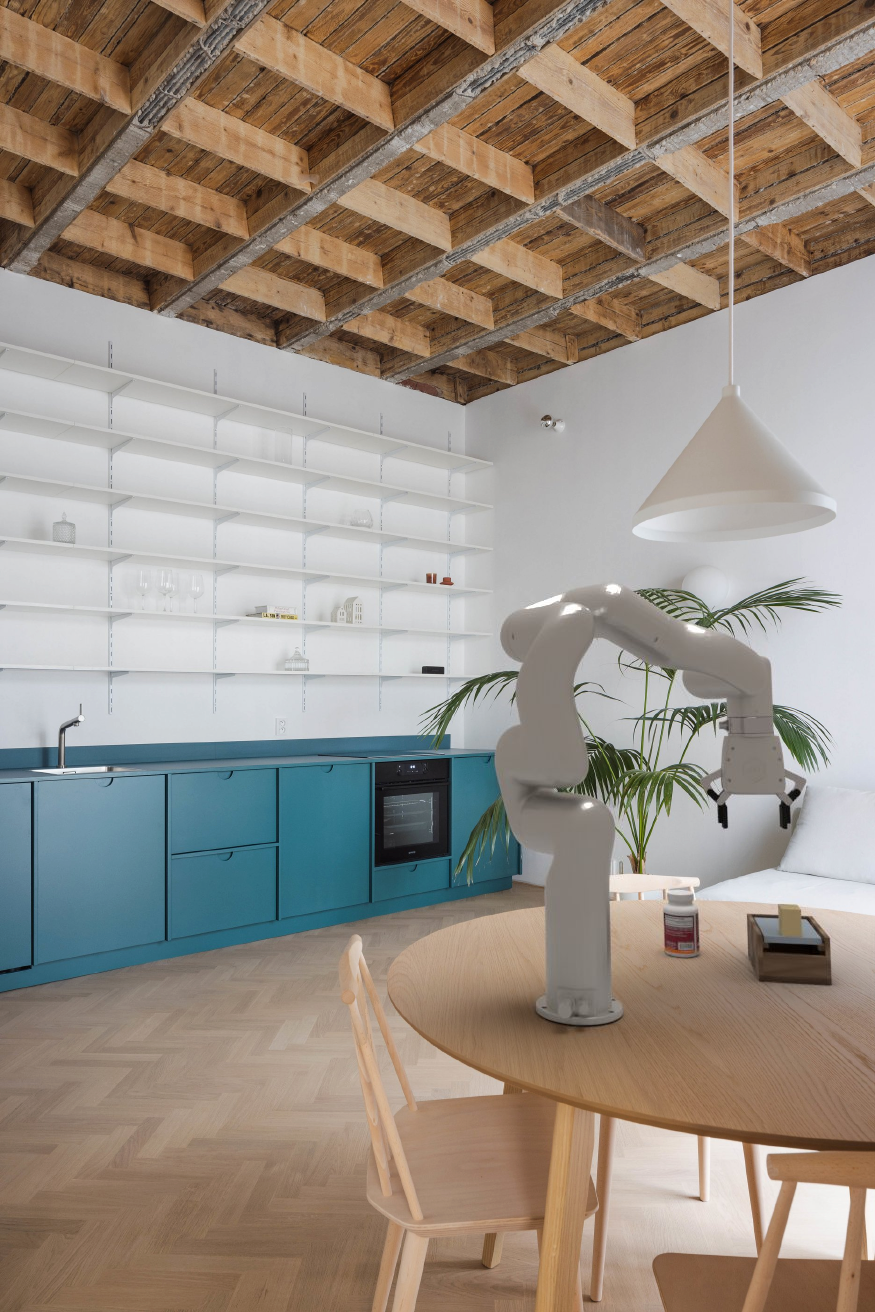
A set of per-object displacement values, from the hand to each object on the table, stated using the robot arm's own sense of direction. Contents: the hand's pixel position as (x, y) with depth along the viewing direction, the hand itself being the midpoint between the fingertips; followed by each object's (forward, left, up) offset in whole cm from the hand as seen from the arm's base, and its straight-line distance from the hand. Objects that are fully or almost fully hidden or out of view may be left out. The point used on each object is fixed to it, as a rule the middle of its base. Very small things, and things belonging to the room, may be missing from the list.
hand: (754, 828), depth 155 cm
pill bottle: (+8, +12, -24) cm, 28 cm away
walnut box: (+1, -5, -24) cm, 24 cm away
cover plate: (+1, -5, -18) cm, 19 cm away
